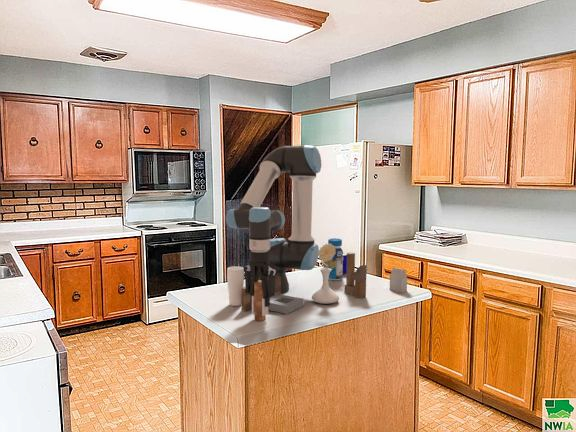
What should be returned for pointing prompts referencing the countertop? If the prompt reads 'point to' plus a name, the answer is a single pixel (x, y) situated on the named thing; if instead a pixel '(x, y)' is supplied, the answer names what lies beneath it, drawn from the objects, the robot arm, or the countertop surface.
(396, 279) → the tea bag
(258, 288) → the dowel
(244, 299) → the backstop board
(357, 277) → the wooden block
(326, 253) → the flower in vase
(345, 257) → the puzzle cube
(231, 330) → the countertop surface
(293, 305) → the holed block
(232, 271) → the drinking glass
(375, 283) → the countertop surface
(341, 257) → the beverage bottle
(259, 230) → the robot arm
